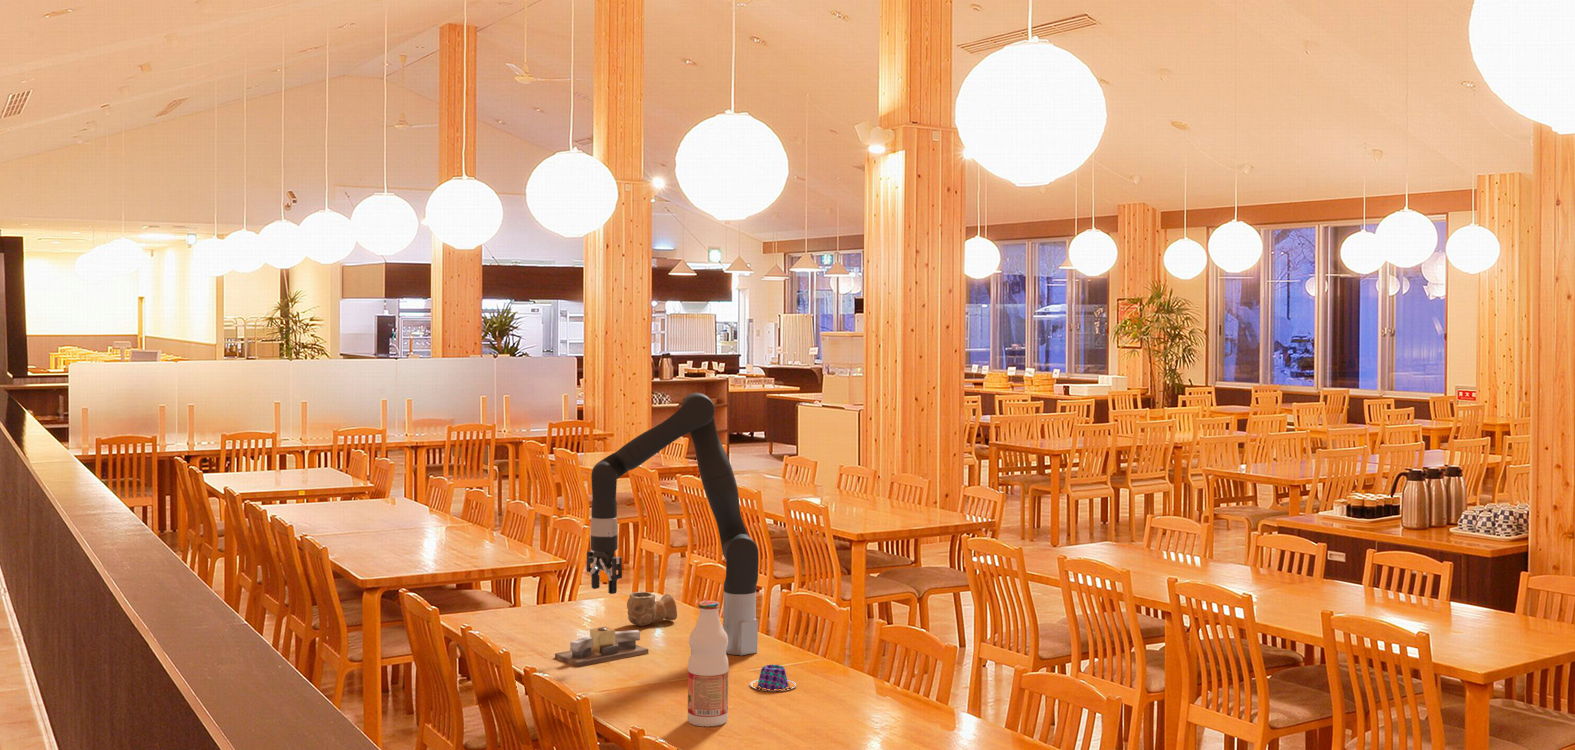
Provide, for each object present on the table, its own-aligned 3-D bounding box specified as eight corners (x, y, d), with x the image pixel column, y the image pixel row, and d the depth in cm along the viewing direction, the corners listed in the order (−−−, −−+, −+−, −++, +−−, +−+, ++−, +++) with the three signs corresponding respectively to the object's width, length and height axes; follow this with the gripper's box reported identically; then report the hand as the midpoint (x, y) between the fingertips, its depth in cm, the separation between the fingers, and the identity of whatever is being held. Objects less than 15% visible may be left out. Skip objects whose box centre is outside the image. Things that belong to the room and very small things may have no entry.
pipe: (681, 623, 395) (681, 591, 395) (638, 631, 385) (638, 598, 384) (664, 618, 402) (664, 586, 402) (621, 625, 391) (621, 593, 391)
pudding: (804, 685, 330) (805, 665, 330) (781, 696, 320) (781, 675, 320) (765, 678, 336) (765, 658, 336) (741, 689, 326) (741, 668, 326)
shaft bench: (648, 653, 358) (648, 632, 358) (578, 666, 343) (578, 645, 343) (624, 644, 367) (624, 624, 367) (554, 657, 352) (555, 636, 352)
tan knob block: (615, 651, 355) (615, 628, 355) (599, 654, 352) (600, 631, 352) (605, 647, 359) (605, 625, 359) (590, 650, 356) (590, 628, 355)
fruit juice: (706, 730, 291) (708, 608, 290) (679, 721, 298) (680, 602, 297) (736, 721, 298) (737, 602, 297) (708, 712, 305) (709, 596, 304)
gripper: (578, 531, 357) (578, 588, 358) (607, 538, 347) (606, 597, 347) (601, 528, 362) (601, 585, 363) (629, 535, 352) (629, 593, 352)
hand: (604, 591), depth 355 cm, fingers open, 8 cm apart
